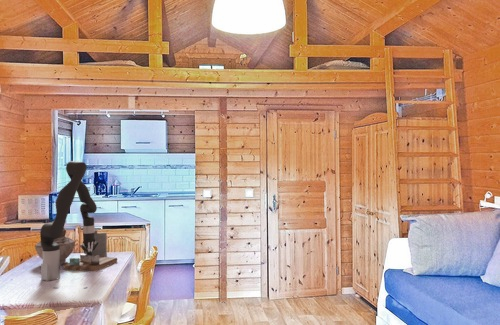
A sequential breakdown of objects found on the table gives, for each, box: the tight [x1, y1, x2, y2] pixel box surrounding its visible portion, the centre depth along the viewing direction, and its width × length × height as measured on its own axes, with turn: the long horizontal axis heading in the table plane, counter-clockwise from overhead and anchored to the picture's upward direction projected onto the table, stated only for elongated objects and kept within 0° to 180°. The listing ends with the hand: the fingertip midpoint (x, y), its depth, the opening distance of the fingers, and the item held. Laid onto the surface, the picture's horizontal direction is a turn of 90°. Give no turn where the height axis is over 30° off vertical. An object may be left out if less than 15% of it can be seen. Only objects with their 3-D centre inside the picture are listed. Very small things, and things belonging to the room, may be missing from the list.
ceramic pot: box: [34, 227, 76, 266], centre depth 276 cm, size 25×25×24 cm
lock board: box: [62, 256, 118, 272], centre depth 269 cm, size 24×25×7 cm
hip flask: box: [83, 229, 108, 257], centre depth 294 cm, size 16×4×20 cm, turn 105°
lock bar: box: [79, 253, 99, 265], centre depth 265 cm, size 20×5×5 cm, turn 49°
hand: (89, 257), depth 273 cm, fingers closed
